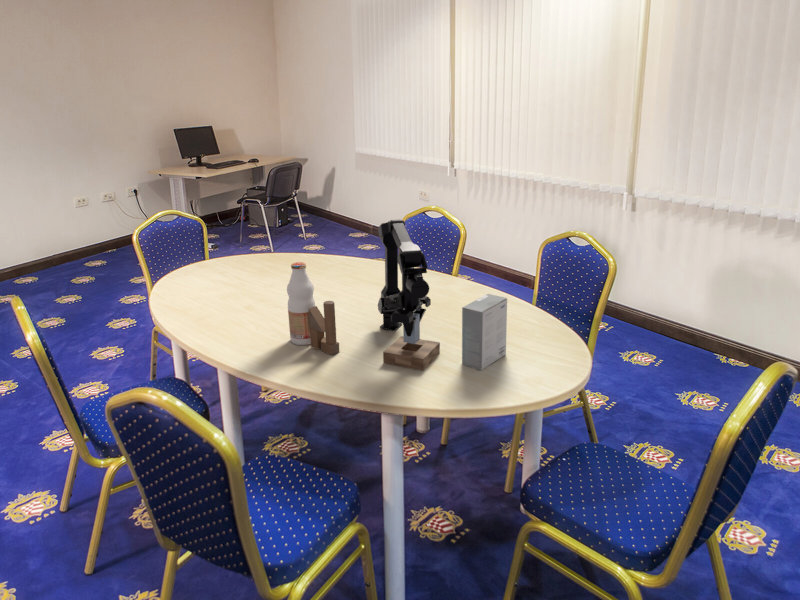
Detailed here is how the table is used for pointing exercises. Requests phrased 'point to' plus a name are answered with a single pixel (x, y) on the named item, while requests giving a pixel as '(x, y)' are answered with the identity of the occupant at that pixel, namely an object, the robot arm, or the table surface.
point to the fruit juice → (300, 304)
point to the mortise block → (411, 353)
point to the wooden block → (323, 328)
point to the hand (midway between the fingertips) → (411, 333)
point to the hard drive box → (484, 331)
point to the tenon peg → (415, 333)
